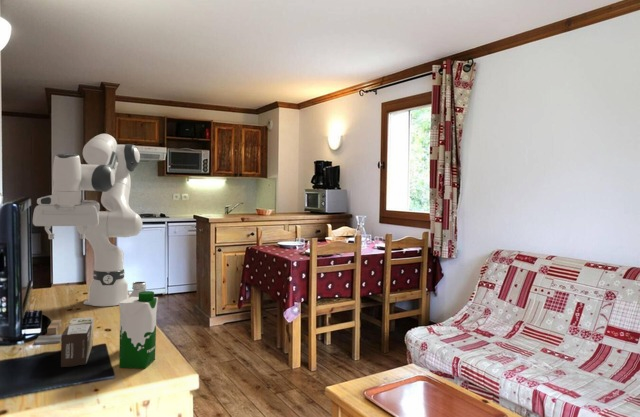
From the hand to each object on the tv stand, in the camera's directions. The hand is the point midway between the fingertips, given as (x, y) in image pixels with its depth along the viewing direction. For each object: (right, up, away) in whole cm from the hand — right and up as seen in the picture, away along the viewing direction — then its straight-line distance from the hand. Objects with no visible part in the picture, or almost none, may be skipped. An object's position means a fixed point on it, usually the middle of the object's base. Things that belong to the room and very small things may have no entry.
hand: (66, 238), depth 159 cm
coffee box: (+17, -27, -21) cm, 38 cm away
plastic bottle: (+33, -32, -20) cm, 50 cm away
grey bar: (+2, -31, -11) cm, 33 cm away
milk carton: (+38, -33, -33) cm, 60 cm away
